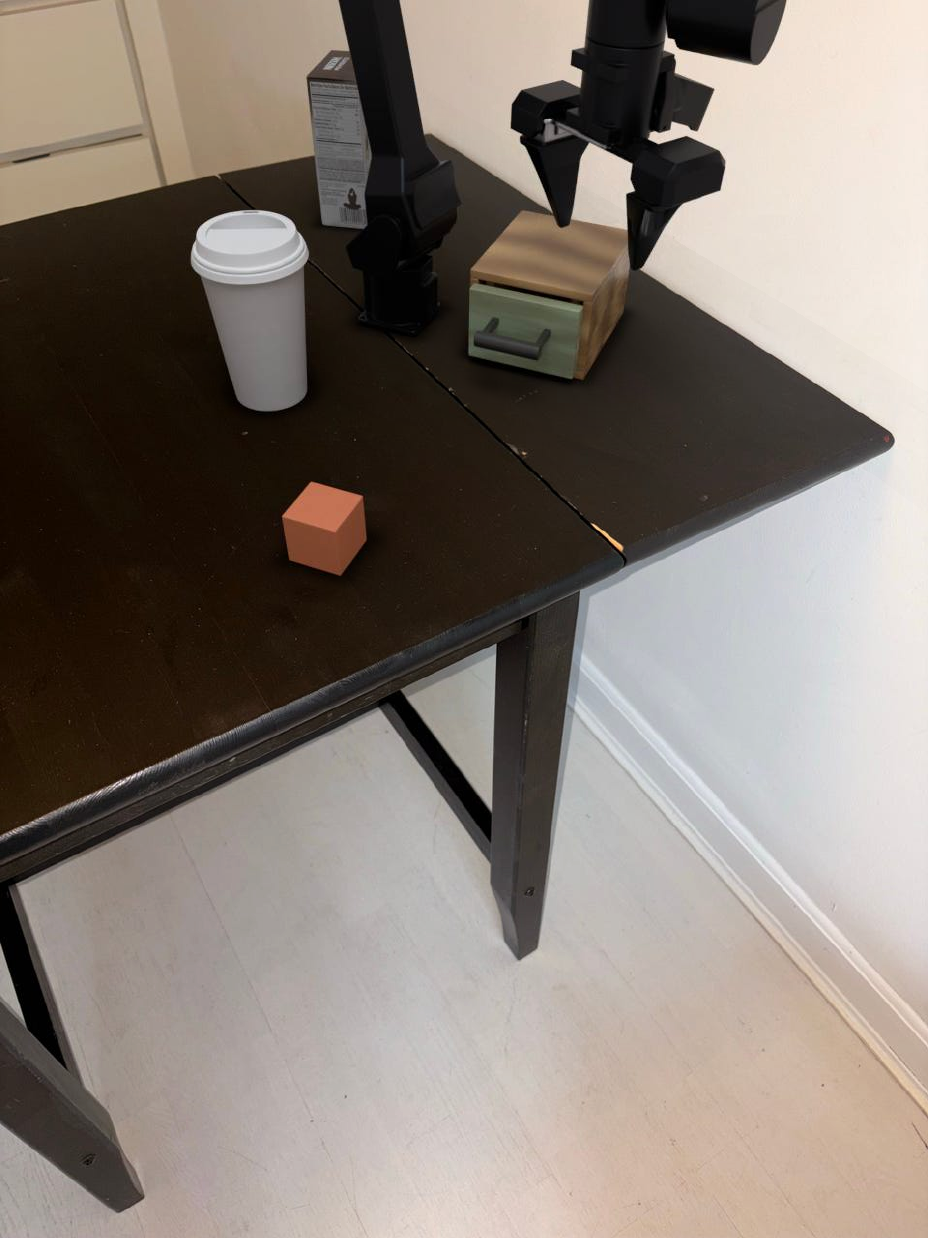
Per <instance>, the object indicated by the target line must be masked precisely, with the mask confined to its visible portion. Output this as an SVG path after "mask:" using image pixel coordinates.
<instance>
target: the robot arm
mask: <svg viewBox="0 0 928 1238" xmlns="http://www.w3.org/2000/svg"><path fill="white" fill-rule="evenodd" d="M337 1H338V5H339V9H340V10H339V11H340V14H341V15H340V16H341V19H342V23H343V28H344V32H345V37H346V42H347V46H348V51H349V52H350V56H351V61H352V65H353V70H354V75H355V79H356V84H357V89H358V93H359V98H360V102H361V107H362V112H363V116H364V121H365V125H366V130H367V135H368V139H369V144H370V149H371V163H370V167H369V172H368V177H367V182H366V187H365V192H364V196H365V207H366V217H367V226H366V227H365V228H364V229H361V230H360V231H359V233H358V234H357V235H355V236H354V237H353V238H352V239H351V240H350V241H349V242H348V243H346V245H345V250H346V253H347V257H348V258H349V259H348V260H349V262H350V264H351V267H352V268H353V269H354V270H358V271H360V272H362V281H363V282H362V283H363V297H364V308H365V309H364V311H363V312H362V313H361V314H360V315H359V316H357V320H358V321H357V322H358V324H360V325H364V326H369V327H373V328H378V329H382V330H386V331H391V332H395V333H399V334H404V335H407V336H417V335H418V334H419V333H420V332H421V331H422V330H423V328H424V327H425V326H426V325H427V324H428V322H430V321H431V320H432V319H433V317H434V316H435V315H436V314H437V313H438V311H439V310H440V309H441V303H440V301H439V299H438V298H439V295H438V294H439V293H438V290H439V289H438V274H437V272H434V261H433V259H434V258H433V255H431V252H433V251H434V250H438V249H440V248H441V247H442V244H443V241H444V238H445V236H447V235H448V234H449V233H451V231H452V229H453V228H454V226H455V224H456V223H457V220H458V207H460V206H461V205H462V204H463V202H462V200H461V197H460V195H459V193H458V190H457V185H456V172H455V171H456V168H455V166H454V163H453V161H452V160H451V159H447V160H441V161H440V160H439V158H438V157H437V156H436V154H434V152H433V151H432V149H431V148H430V146H429V145H428V143H427V140H426V136H425V132H424V127H423V120H422V116H421V109H420V104H419V99H418V94H417V88H416V83H415V77H414V71H413V66H412V65H413V64H412V60H411V57H410V56H411V54H410V50H409V44H408V39H407V38H408V37H407V33H406V28H405V22H404V21H405V20H404V16H403V11H402V6H401V0H337ZM787 1H788V0H588V5H587V16H586V26H585V27H586V28H585V36H584V45H583V47H579V48H574V49H572V50H571V56H570V66H571V67H573V68H576V69H578V70H580V71H581V76H580V86H577V85H575V84H573V83H571V82H569V81H566V80H564V79H561V80H560V79H559V80H556V81H552V82H548V83H544V84H540V85H536V86H532V87H528V88H524V89H521V90H519V93H518V94H517V96H516V97H515V98H514V100H513V102H512V103H511V106H510V109H511V110H510V130H512V131H514V132H516V133H518V134H520V135H519V143H520V145H522V146H523V147H524V148H525V149H526V152H527V155H528V157H529V158H530V161H531V163H532V165H533V168H534V170H535V172H536V174H537V177H538V179H539V181H540V184H541V186H542V188H543V191H544V194H545V196H546V200H547V202H548V204H549V208H550V210H551V212H552V216H554V218H555V220H556V223H557V226H558V227H560V228H563V227H567V226H569V224H570V221H571V219H572V217H573V213H574V208H575V201H576V195H577V188H578V187H577V186H578V179H579V171H580V165H581V160H582V157H583V154H584V153H585V151H586V150H587V147H588V146H589V144H592V145H593V146H596V147H597V148H599V149H601V150H604V151H605V152H607V153H609V154H611V155H613V156H616V157H618V158H620V159H622V160H623V161H626V162H628V163H629V164H632V165H631V170H630V179H629V180H630V182H631V185H632V188H633V191H630V192H627V193H625V202H626V203H625V207H626V225H627V226H626V230H627V232H628V255H629V262H630V268H629V269H630V270H632V271H634V272H635V271H638V270H641V269H642V268H644V267H645V265H646V263H647V261H648V259H649V257H650V255H651V253H652V252H653V250H654V248H655V247H656V245H657V243H658V241H659V239H660V238H661V236H662V234H663V232H664V230H665V229H666V227H667V226H668V224H669V222H670V221H671V219H672V218H673V216H674V215H675V214H676V213H677V211H678V210H679V208H680V207H682V206H683V205H684V204H686V203H689V202H693V201H695V200H698V199H701V198H703V197H706V196H708V195H713V194H714V193H717V192H720V191H722V185H723V181H724V176H725V171H726V161H727V160H726V159H725V157H724V156H723V154H722V152H721V150H719V149H717V148H714V147H713V146H710V145H709V144H706V143H704V142H702V141H699V140H697V139H695V138H693V137H690V136H688V135H685V136H681V137H677V138H674V139H670V140H668V141H664V142H660V143H657V142H655V141H654V140H651V139H649V138H650V137H651V133H655V132H656V133H658V134H662V133H665V132H668V131H671V129H672V123H676V124H678V125H682V126H685V127H688V128H689V130H691V131H693V132H699V129H700V127H701V125H702V122H703V119H704V117H705V115H706V112H707V109H708V107H709V105H710V102H711V99H712V97H713V95H714V93H715V88H714V87H711V86H709V85H707V84H704V83H702V82H699V81H696V80H694V79H692V78H689V77H687V76H685V75H682V74H679V73H676V67H677V60H676V57H675V56H676V55H675V53H673V52H670V51H667V50H665V43H666V38H667V39H669V40H674V43H675V46H676V48H677V49H678V50H679V51H680V50H681V51H686V52H690V53H695V54H699V55H705V56H708V57H713V58H718V59H723V60H727V61H733V62H737V63H742V64H747V65H751V66H759V65H760V64H762V62H763V61H764V60H765V59H766V57H767V56H768V54H769V52H770V51H771V49H772V47H773V44H774V43H775V40H776V37H777V35H778V32H779V30H780V27H781V23H782V21H783V17H784V13H785V9H786V6H787Z"/></svg>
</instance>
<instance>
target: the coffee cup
mask: <svg viewBox="0 0 928 1238" xmlns="http://www.w3.org/2000/svg"><path fill="white" fill-rule="evenodd" d="M195 236H196V237H195V241H194V242H193V244H192V248H191V252H190V265H191V267H192V269H193V270H194V271H195V272H196V273H197V274H198V275H199V276H200V279H201V282H202V286H203V288H204V291H205V295H206V298H207V301H208V306H209V309H210V312H211V315H212V318H213V322H214V325H215V329H216V332H217V335H218V340H219V342H220V345H221V350H222V352H223V355H224V356H223V357H224V360H225V363H226V366H227V369H228V373H229V376H230V377H229V378H230V380H231V383H232V387H233V390H234V394H235V396H236V399H237V401H238V402H239V403H240V404H241V405H242V406H244V407H245V408H248V409H250V410H254V411H258V412H277V411H281V410H286V409H289V408H292V407H293V406H295V405H297V404H299V403H300V402H301V401H302V400H303V399H304V398H305V397H306V395H307V392H308V373H307V371H308V369H307V340H306V338H307V337H306V307H305V304H306V303H305V265H306V263H307V261H308V260H309V258H310V257H309V256H310V251H309V248H308V245H307V242H306V241H305V239H304V237H303V236H302V234H301V233H300V232H299V231H298V230H297V227H296V225H295V223H294V222H293V221H292V219H290V218H288V217H287V216H286V215H285V216H284V215H283V214H280V213H276V212H273V211H268V210H260V209H259V210H258V209H252V210H251V209H249V210H237V211H230V212H226V213H223V214H219V215H217V216H214V217H212V218H210V219H208V220H207V221H205V222H203V224H201V225H200V226H199V228H198V229H197V231H196V235H195Z"/></svg>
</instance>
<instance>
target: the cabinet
mask: <svg viewBox="0 0 928 1238" xmlns="http://www.w3.org/2000/svg"><path fill="white" fill-rule="evenodd" d="M630 269H631V268H630V262H629V255H628V232H627V228H625V229H624V228H620V227H615V226H610V225H604V224H597V223H593V222H589V221H583V220H577V219H572V218H571V221H570V224H569V226H567V227H563V228H560V227H558V226H557V223H556V220H555V218H554V215H552V214H551V215H550V214H545V213H540V212H535V211H529V210H524V209H522V210H520V212H518V213H517V215H516V216H515V217H514V219H513V220H512V221H511V222H510V224H509V225H508V226H507V227H506V228H505V229H504V230H503V232H502V233H501V234H500V235H499V236H498V237H497V238H496V240H495V241H493V243H492V244H491V245H490V246H489V248H488V249H487V250H486V251H485V252H484V253H483V255H481V257H480V258H479V259H478V260H477V261H476V262H475V264H474V265H473V266H472V267H471V268H470V273H469V274H470V275H469V277H470V279H469V280H470V281H469V282H470V284H469V288H470V287H471V286H472V285H473V284H474V283H477V284H482V285H486V286H487V281H490V282H494V283H499V284H504V285H509V286H514V287H518V288H523V289H528V290H533V291H537V292H542V293H547V294H552V295H557V296H561V297H566V298H571V299H576V300H580V301H584V302H583V314H582V323H581V332H580V341H579V351H578V360H577V369H576V374H575V375H574V377H573V379H577V380H581V381H584V379H585V377H586V376H587V374H588V372H589V371H590V369H591V367H592V366H593V364H594V363H595V360H597V357H598V356H599V354H600V353H601V350H602V349H603V348H604V346H605V344H606V343H607V340H608V339H609V337H610V336H611V334H612V333H613V330H614V329H615V327H616V325H617V324H618V323H619V320H620V318H621V317H622V315H623V314H624V309H625V303H626V295H627V290H628V282H629V276H630V275H629V274H630Z"/></svg>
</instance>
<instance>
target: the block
mask: <svg viewBox="0 0 928 1238" xmlns="http://www.w3.org/2000/svg"><path fill="white" fill-rule="evenodd" d="M282 514H283V515H282V517H281V519H282V525H283V530H284V537H285V542H286V549H287V554H288V560H289V561H291V562H294V563H297V564H301V565H304V566H307V567H311V568H314V569H316V570H320V571H324V572H327V573H329V574H333V575H336V576H339V577H341V576H342V575H343V573H344V572H345V571H346V569H347V568H348V566H349V565H350V564H351V562H352V561H353V559H354V558H355V557H356V555H357V554H358V553H359V551H360V550H361V549H362V548H363V545H364V544H365V543H366V542H367V540H368V538H367V528H366V527H367V526H366V517H365V516H366V515H365V505H364V496H363V495H360V494H357V493H353V492H350V491H346V490H342V489H339V488H335V487H332V486H329V485H325V484H322V483H317V482H314V481H310V482H309V483H308V485H307V486H306V487H305V488H304V489H303V491H302V492H301V493H300V494H299V495H298V497H297V498H296V499H295V500H294V501H293V502H292V504H291V505H290V506H289V507H288V508H287V509H286V511H285V512H284V513H282Z"/></svg>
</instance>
